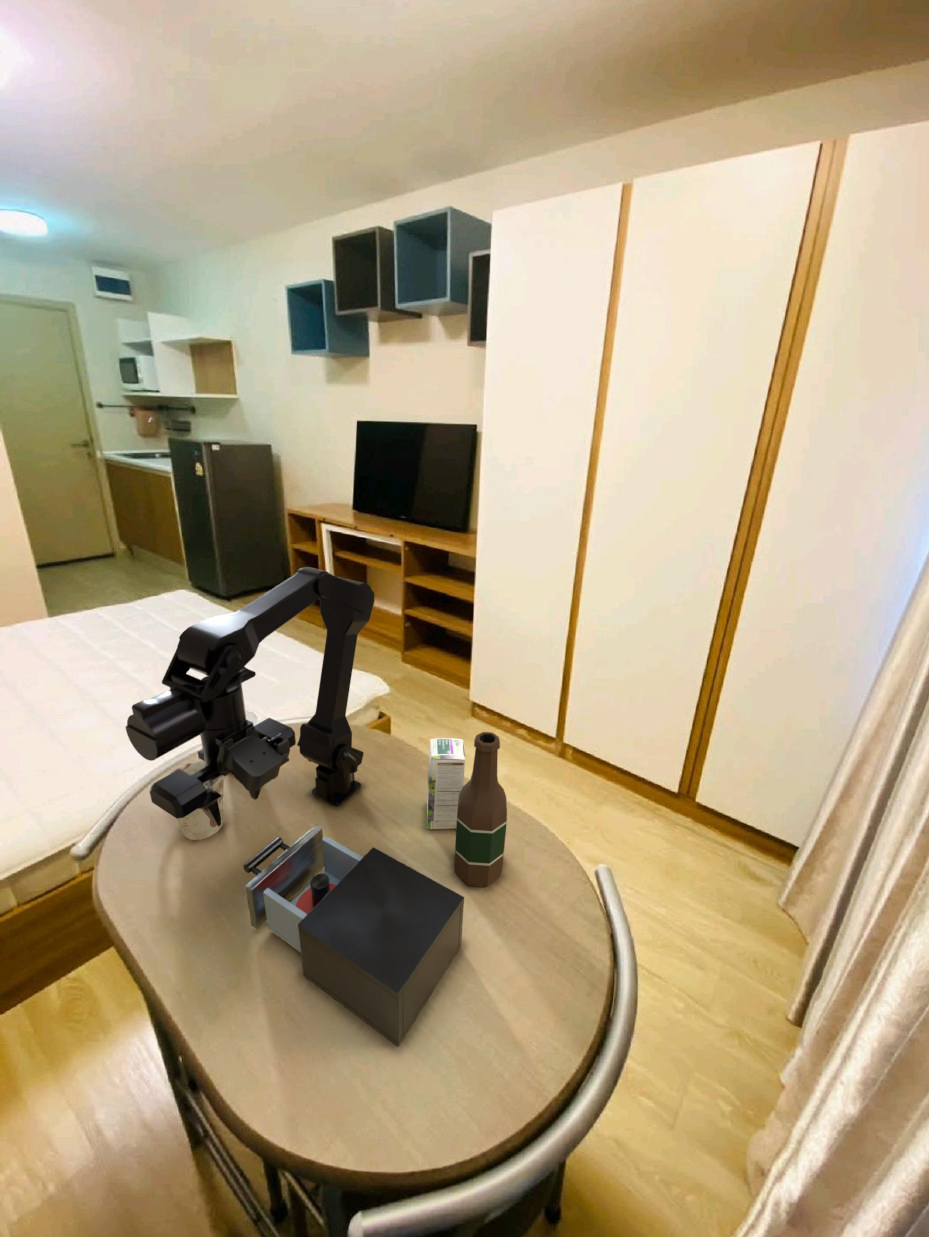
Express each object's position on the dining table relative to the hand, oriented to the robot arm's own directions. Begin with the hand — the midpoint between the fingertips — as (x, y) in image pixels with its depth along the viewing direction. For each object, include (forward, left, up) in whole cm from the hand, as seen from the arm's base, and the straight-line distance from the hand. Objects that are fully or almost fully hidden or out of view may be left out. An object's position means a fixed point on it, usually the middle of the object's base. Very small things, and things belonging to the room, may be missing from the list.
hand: (236, 810), depth 74 cm
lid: (0, +16, -9) cm, 18 cm away
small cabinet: (0, +26, -11) cm, 29 cm away
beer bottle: (-19, +29, -11) cm, 37 cm away
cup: (-15, -21, -11) cm, 28 cm away
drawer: (0, +13, -10) cm, 17 cm away
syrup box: (-25, +19, -11) cm, 34 cm away
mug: (-1, -15, -11) cm, 18 cm away
